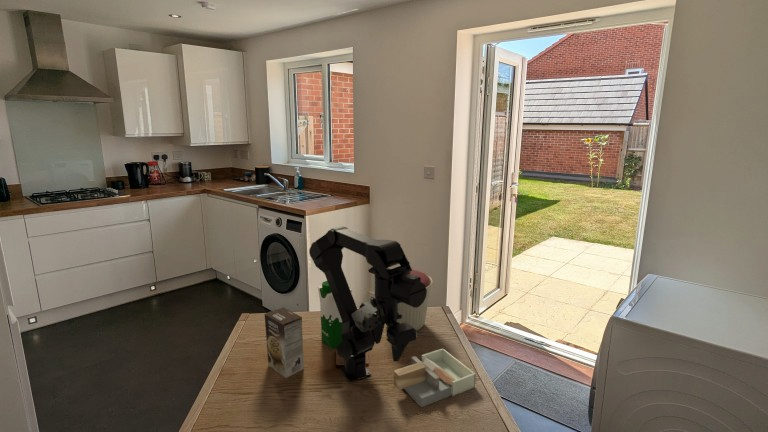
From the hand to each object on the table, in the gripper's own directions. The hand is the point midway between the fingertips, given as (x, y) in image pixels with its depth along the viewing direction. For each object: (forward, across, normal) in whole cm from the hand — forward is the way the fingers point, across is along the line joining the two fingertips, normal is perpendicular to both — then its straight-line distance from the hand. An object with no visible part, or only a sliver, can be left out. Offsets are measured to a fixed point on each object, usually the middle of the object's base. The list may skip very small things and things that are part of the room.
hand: (386, 351), depth 103 cm
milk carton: (+12, -30, -1) cm, 32 cm away
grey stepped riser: (+12, +2, +10) cm, 15 cm away
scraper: (+10, +2, +6) cm, 11 cm away
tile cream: (+10, -1, +15) cm, 18 cm away
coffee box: (+12, -24, -19) cm, 33 cm away
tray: (+12, +2, +18) cm, 22 cm away
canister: (+12, -28, +23) cm, 38 cm away
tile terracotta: (+10, +5, +15) cm, 19 cm away
